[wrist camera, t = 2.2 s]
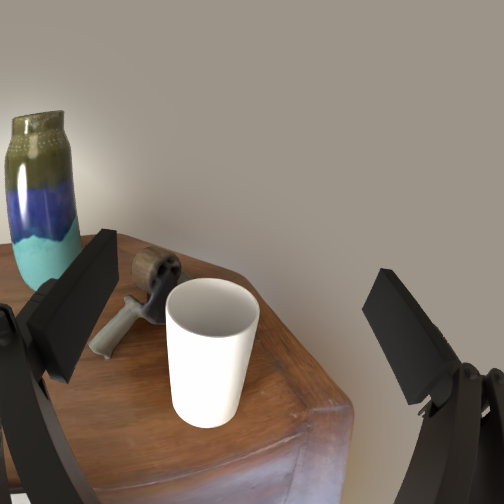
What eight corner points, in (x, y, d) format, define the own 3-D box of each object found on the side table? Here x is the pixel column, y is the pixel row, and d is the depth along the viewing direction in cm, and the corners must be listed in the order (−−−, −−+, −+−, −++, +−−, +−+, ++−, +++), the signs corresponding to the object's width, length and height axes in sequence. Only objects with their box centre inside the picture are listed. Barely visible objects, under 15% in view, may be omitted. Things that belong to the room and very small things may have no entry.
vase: (90, 298, 44) (76, 109, 29) (22, 310, 36) (-12, 123, 22) (84, 259, 53) (78, 108, 39) (27, 269, 46) (10, 117, 31)
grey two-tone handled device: (105, 373, 32) (86, 308, 26) (82, 348, 34) (63, 284, 29) (198, 304, 48) (203, 244, 43) (173, 289, 51) (175, 231, 45)
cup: (190, 366, 36) (193, 268, 29) (246, 388, 35) (270, 294, 27) (160, 409, 29) (146, 314, 22) (223, 437, 27) (240, 352, 20)
